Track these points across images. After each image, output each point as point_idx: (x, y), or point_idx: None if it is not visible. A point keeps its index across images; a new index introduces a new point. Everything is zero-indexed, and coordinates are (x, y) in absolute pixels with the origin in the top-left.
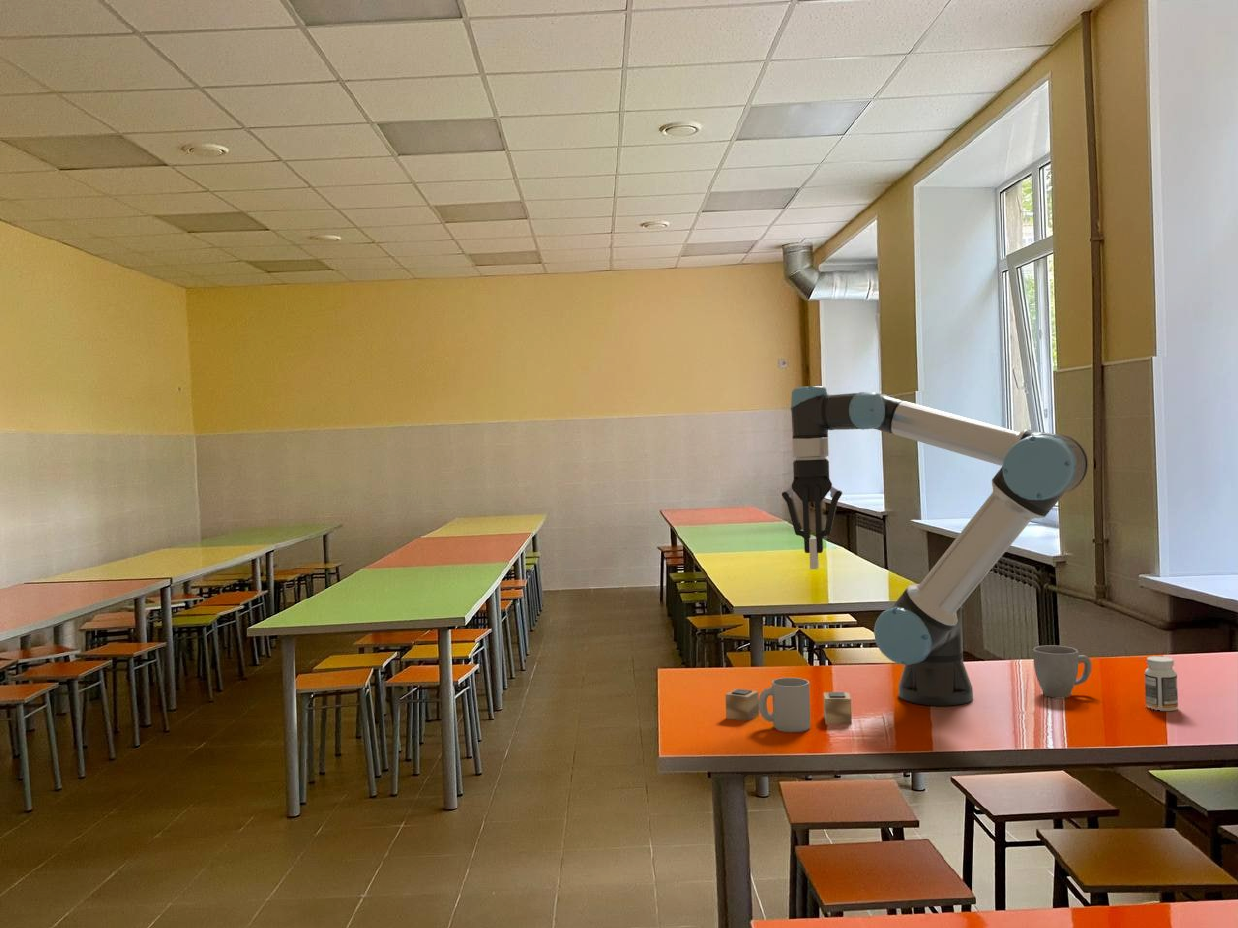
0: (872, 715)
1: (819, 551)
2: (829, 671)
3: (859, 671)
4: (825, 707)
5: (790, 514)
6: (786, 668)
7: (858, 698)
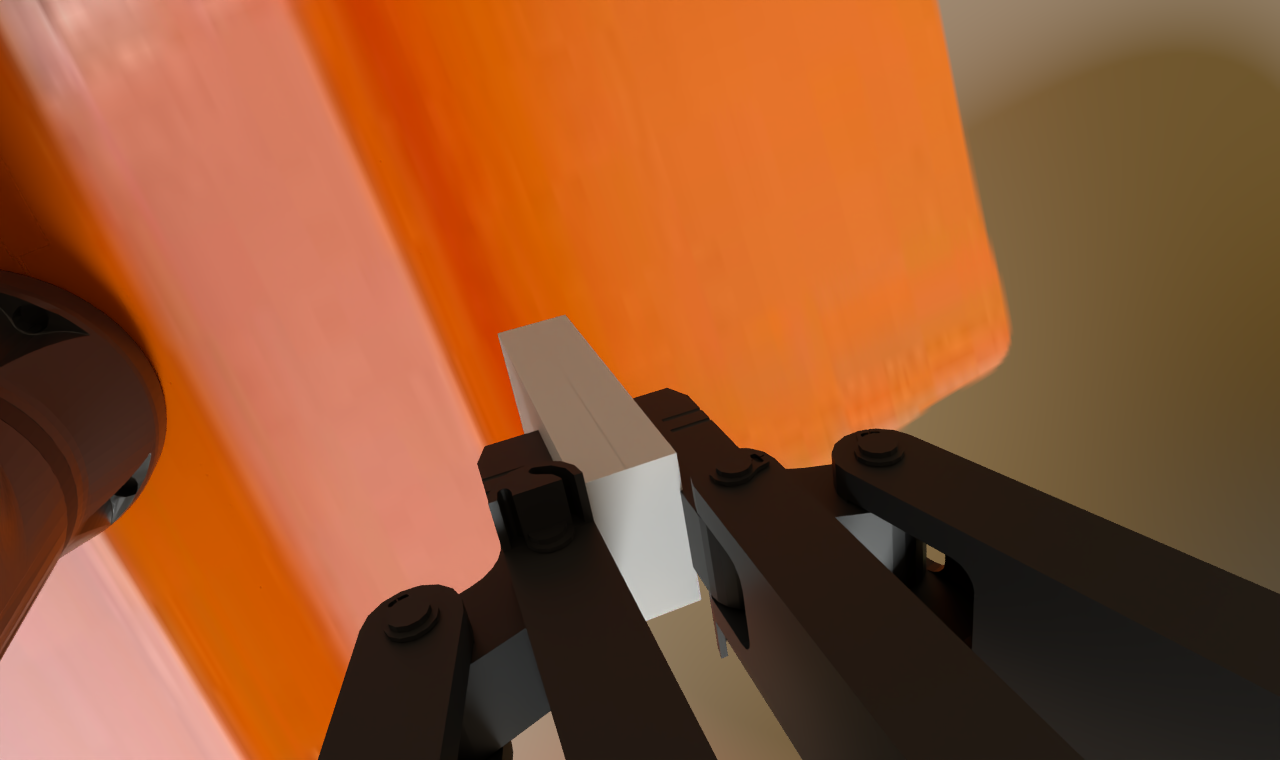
0: (105, 18)
1: (512, 447)
2: None
3: None
4: None
5: (1272, 597)
6: None
7: (292, 266)
